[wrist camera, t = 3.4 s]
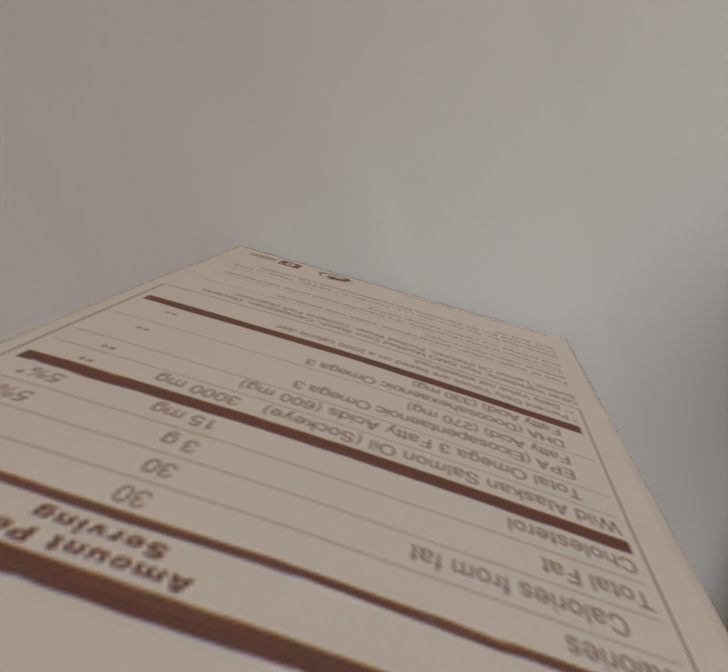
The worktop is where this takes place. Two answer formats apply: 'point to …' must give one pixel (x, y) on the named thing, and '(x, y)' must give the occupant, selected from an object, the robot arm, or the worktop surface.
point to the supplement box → (323, 491)
